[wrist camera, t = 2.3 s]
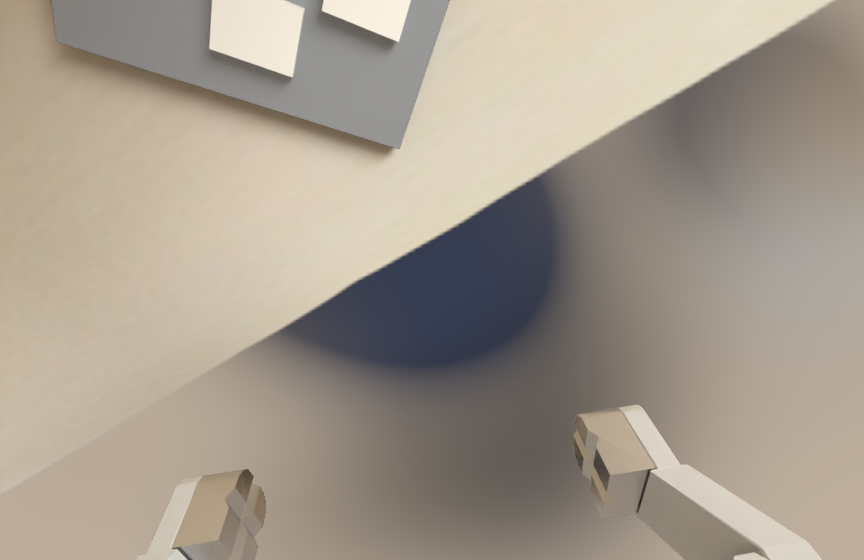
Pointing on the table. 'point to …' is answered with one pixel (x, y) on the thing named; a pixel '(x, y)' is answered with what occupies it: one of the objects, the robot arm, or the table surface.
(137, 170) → the table surface
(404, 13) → the mark
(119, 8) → the board
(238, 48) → the mark
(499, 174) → the table surface
